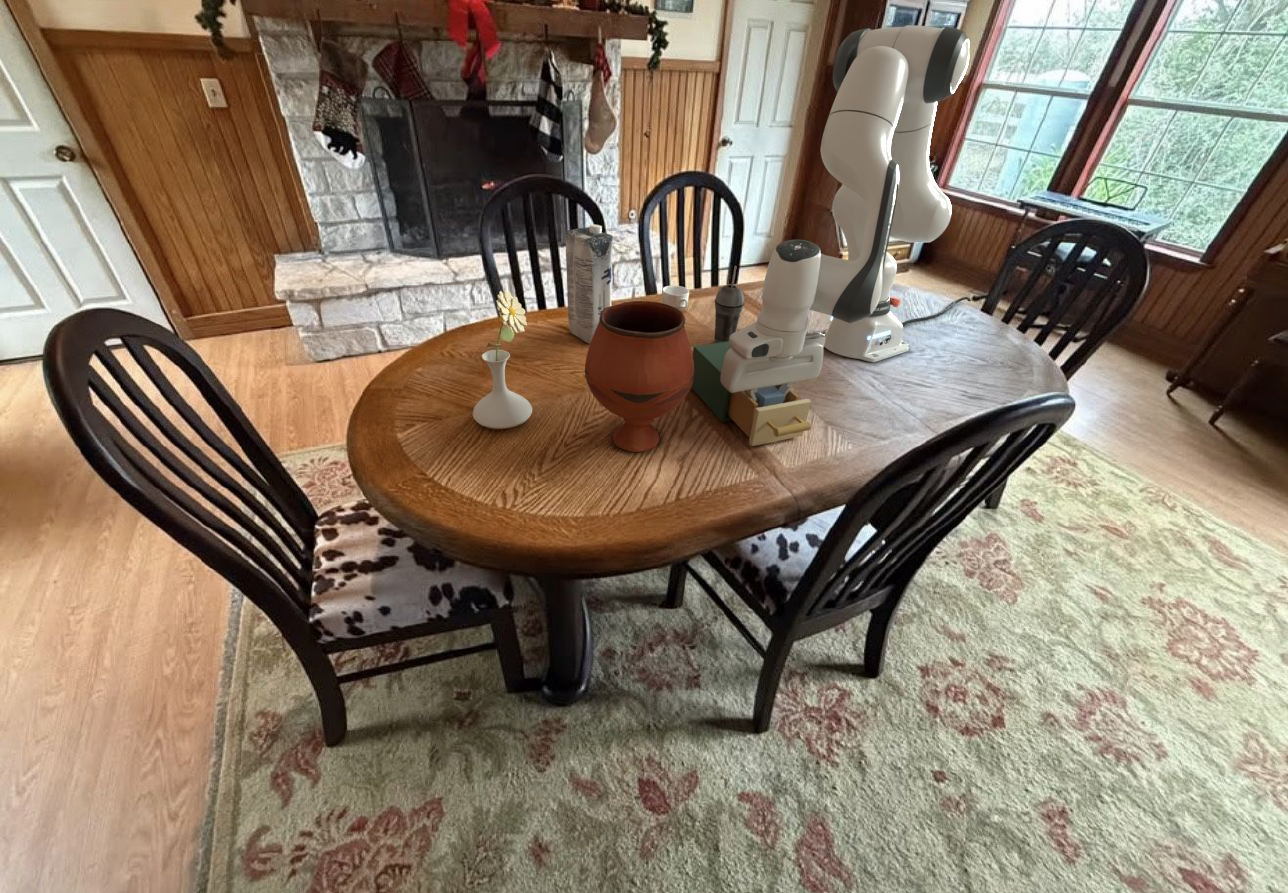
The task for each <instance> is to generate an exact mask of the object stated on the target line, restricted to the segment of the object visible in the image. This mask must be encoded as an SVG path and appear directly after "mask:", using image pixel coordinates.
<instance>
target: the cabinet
mask: <svg viewBox="0 0 1288 893" xmlns="http://www.w3.org/2000/svg"><path fill="white" fill-rule="evenodd" d="M731 347H732V346H731V345H730V344H729V341H728V342H721V343H715V342H714V343H708V344H699V345H694V346H693V348H692V356H693V361H694V377H693V383H692V386H691V389H692V390H693V391H694V392H695V393H696V394H697V396H698V397H699V398H700V399H701V400H702V401H703V402H704V403H705V405H707V407H708V408H709V409H710V410H711V411H712V412H713V413H714V414H715V416H717V418H718V419H719V420H720V422H723V423H724V422H729V421H733V420H732V419H731V418H730V417H729V415H728V414H727V409H728V403H729V397H730V392H729V391H728V390H727V389H726V388H725V387H724V386H723V385H722V383H721V381H720V377H721V370H722V366H723V361H724V358H725V355H726V353H727V351H728V350H729V349H730V348H731Z"/></svg>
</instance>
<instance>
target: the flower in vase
mask: <svg viewBox="0 0 1288 893" xmlns="http://www.w3.org/2000/svg"><path fill="white" fill-rule="evenodd" d="M498 293H499V294H497V299H496V304H497V305H496V309H497V311H498V315H499V316H500V317H501V323H500V326H499V332H498V338H497V343H496V344H495V343H491V342H488V343H487V345H486V348H495V349H490V350H487V351H485V352H484V353H482V355H481V359H482V361H484V362H485V363H486V364H487V366H488V368H489V371H490V374H491V377H492V378H491V379H492V390H491V391H490V392H489V393H488V394H486V395H485V396H483V397H482V398H481V399H480V400H479V401H478V402H476V404H475V405H474V407H473V410H472V418H473V419H474V421H476V423H478V424H479V425H480V426H482V427H485V428H487V429H492V430H506V429H512V428H515V427H519V426H521V425H523V424H524V423H526V422H527V421H528V420H529V419H530V417H531V415H532V414H533V407H532V404H531V403H530V402H529V400H528V399H526V398H525V397H524V396H522V395H521V394H518V393H516V392H514V391H512V390H510V389H509V388H508V387H507V384H506V376H505V375H506V374H505V372H506V364H507V361H508V360H509V358H510V357H511V354H510V352H509V351H507V350H504V349H499V348H500V346H502V344H500V341H501V339H502V340H503V341H505V342H507V343H510V342H512V341H513V339H514V337H515V333H517V334H519V333H522V332H523V333H524V332H525V327H524V326H528V322H527V317H526V316H525V315H526V309H524V308H523V307H522V304H521V303H520V302H519V299H518V297H517V296H512V294H511V292H510V291H509V290H503V291H502V290H500V291H499V292H498ZM503 326H506V327H504V328H503Z"/></svg>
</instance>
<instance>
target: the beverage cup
mask: <svg viewBox="0 0 1288 893" xmlns="http://www.w3.org/2000/svg"><path fill="white" fill-rule="evenodd" d="M737 268H738V266H737V265H734V268H733V274H732V279H731V284H726V285H723V286H722V287H721V288H720V289H719V290H718V292H717V293H716V295H715V299H714V309H715V316H714V317H715V319H714V343H721V342H728V341H729V338H730V335H731V334H733V333H735V332H737V331H738V325H739V322H740V317H741V313H742V312H743V309H744V306H745V296H744V292H743V290H742V289H741V288H740V287H739V286H737V285H735V279H736V273H737Z"/></svg>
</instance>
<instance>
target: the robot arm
mask: <svg viewBox="0 0 1288 893" xmlns="http://www.w3.org/2000/svg"><path fill="white" fill-rule="evenodd" d="M970 44H971V42H970V38H969V36H968V34H967V33H966V32H965V31H964V30H962V29H960V28H956V27H953V26H946V27H944V28H941V27H935V26H927V25H912V24H911V25H909V24H907V25H904V26H892V27H883V28H876V29H875V28H874V29H871V28H869V27H867V28H863V29H859V30H855V31H853V32H850V34H849V35H847V36H846V38H845V39H844V40H843V41H842V42H841V43H840V45H839V47H838V50H837V52H836V54H835V59H834V63H833V68H832V84H833V87H834V89H835V90H836V96H835V99H834V101H833V103H832V106H831V109H830V112H829V114H828V117H827V121H826V123H825V127H824V130H823V134H822V138H821V143H820V156H821V160H822V164H823V165H824V167H825V169H826V170H827V172H828V173H829V174H830V175H831V176H832V177H833V178H834V179H835V180H837V181H838V182H839V183H840V184H842V185H841V186H840V188H838V190H837V192H836V193H835V195H834V198H833V199H832V205H831V206H832V207H831V211H832V216H833V220H834V222H835V223H836V224H837V226H838V227H839V228H840V229H841V231H842V233H843V236H844V239H845V242H846V245H847V255H848V256H847V258H848V259H844V258H841V257H840V258H839V257H834V256H831V255H826V254H824V253H821V248H820V247H819V246H818V245H817V244H816V243H814V242H812V241H809V240H805V239H787V240H785V241H782V242H780V243H778V244H777V245H776V246H775V247H774V248H773V249H774V250H773V251H772V254H771V256H770V259H769V263H768V266H767V269H766V272H765V276H764V280H763V284H762V285H763V286H762V292H761V300H762V302H761V308H760V310H759V313H758V315H757V319H756V321H754V322H753V323H751V324H749V325H748V326H745V327H743V328H742V329H739V330H736V332H735V333H733V334H731V335H730V338H729V344H730V345H731V346H732V347H731V348H730V349H729V350H728V351H727V353H726V355H725V358H724V361H723V366H722V370H721V377H720V381H721V383H722V385H723V386H724V387H725V388H726V389H727V390H728V391H729V392H731V393H734V392H740V391H747V394H748V395H749V396H750V397H751V398H753V399H754V400H755V401H756V402H757V403H758V406H759V402H760V398H758V397H757V396H756V395H755V394H754V392H755V393H757V390H758V388H763V387H769V386H775V385H781V384H782V385H781V387H780V388H779V391H781V392H782V393H783V394H784V395H785V396H784V400H783V401H785V397H786V394H787V393H788V392H789V391H790V390H791V389H792V388H793V387H794V385H795V383H798V382H804V381H810V380H815V379H817V378H818V376H819V375H820V374H821V372H822V367H823V362H824V361H823V360H824V348H825V349H826V350H828V351H830V352H832V353H833V354H836V355H839V356H842V357H846V358H851V359H858V360H861V361H866V362H868V363H876V362H880V361H883V360H886V359H888V358H891V357H894V356H898V355H900V354H904V353H907V352H909V350H910V346H909V344H908V343H907V342H905V341H904V339H903V336H904V326H906V325H907V324H911V323H917V322H922V321H927V320H931V319H935V318H937V317H939V316H942V315H944V314H945V313H947V312H948V311H950V310H951V309H952V308H953V307H954V306H955V305H956V304H958V303H960V302H962V301H966V300H967V302H972V300H971V298H970V297H969V296H963V297H960V298H958V299H955V300H953V301H952V302H951V303H950V304H949V305H948V306H947V307H946V308H944V309H943V310H942V311H940V312H938V313H935V314H931V315H927V316H923V317H918V318H917V317H916V318H912V319H908V320H905V321H904V322H902V323H901V321H900V320H899V319H898V316H895V315H894V313H892V311H891V306H892V307H894V308H898V307H899V306H900V305H901V302H902V301H901V299H900V298H897V297H895V296H893V297H890V294H891V291H892V288H893V284H894V281H895V278H896V274H897V271H898V267H897V263H896V262H897V261H896V259H895V258H894V257H893V256H892V255H891V254H890V253H889V252H888V248H889V247H888V246H889V242H890V240H891V239H892V240H897V241H901V242H906V243H931V242H933V241H935V240H936V239H939V237H940V236H941V235H943V234H944V232H945V231H946V229H947V227H948V226H949V224H950V222H951V218H952V204H951V201H950V199H949V197H948V196H947V195H946V194H945V193H944V192H943V191H942V190H941V189H940V187H939V186H938V184H937V183H936V180H935V179H934V176H933V174H932V171H931V166H930V157H929V156H930V149H931V148H930V146H931V139H932V135H933V134H932V133H933V127H934V124H935V123H934V122H935V117H936V112H937V108H938V107H937V106H938V102H941V101H945V100H946V99H948V98H949V97H950V96H952V95H953V94H954V93H955V92H956V90H957V89H958V87H959V85H960V84H961V82H962V80H963V79H964V76H965V74H966V72H967V69H968V66H969V62H970V46H971V45H970ZM810 311H812V312H817V313H820V314H825V315H827V316H831V317H830V322H829V325H828V327H827V328H826V330H825V331H824V332H825V333H824V334H823V333H821V331H813V332H808V327H809V322H810V321H809V314H810Z"/></svg>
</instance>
